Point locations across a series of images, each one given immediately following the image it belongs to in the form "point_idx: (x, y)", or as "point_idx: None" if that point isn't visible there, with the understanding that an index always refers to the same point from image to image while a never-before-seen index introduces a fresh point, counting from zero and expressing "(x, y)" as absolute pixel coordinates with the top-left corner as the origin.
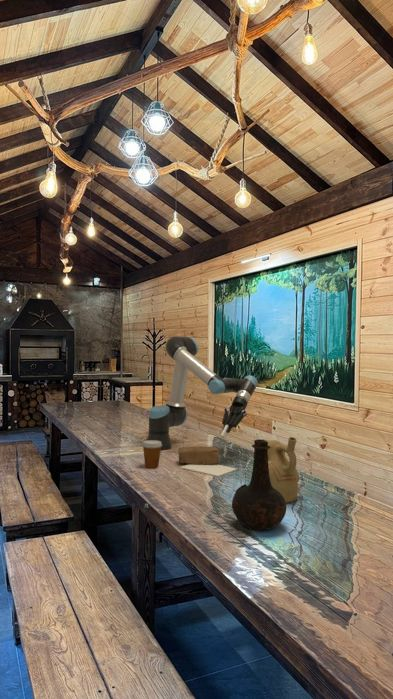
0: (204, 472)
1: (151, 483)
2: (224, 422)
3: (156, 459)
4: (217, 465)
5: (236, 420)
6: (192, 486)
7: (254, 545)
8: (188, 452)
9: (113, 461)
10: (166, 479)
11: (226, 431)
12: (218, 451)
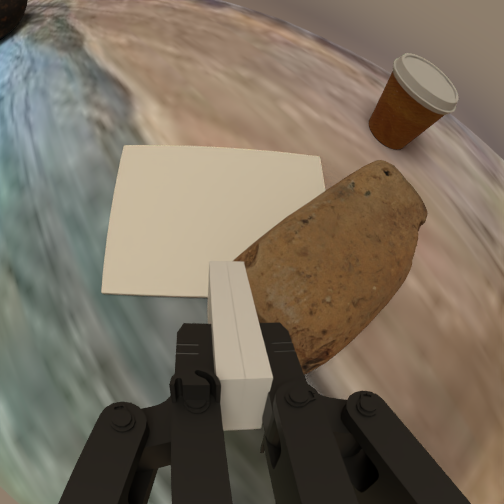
0: (194, 147)
1: (258, 33)
2: (347, 424)
3: (379, 103)
4: None
5: (80, 495)
6: (155, 53)
7: None
8: (350, 174)
9: (467, 136)
10: (254, 60)
11: (210, 328)
12: None
